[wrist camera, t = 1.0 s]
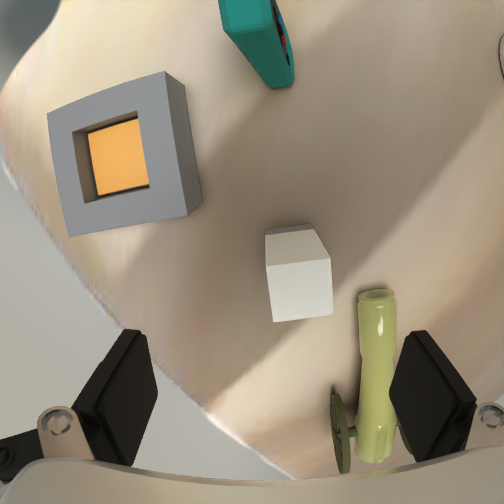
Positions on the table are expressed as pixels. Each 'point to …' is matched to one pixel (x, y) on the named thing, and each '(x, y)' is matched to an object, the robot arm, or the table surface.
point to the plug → (298, 273)
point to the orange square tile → (118, 157)
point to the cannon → (371, 386)
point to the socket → (154, 147)
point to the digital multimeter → (260, 38)
